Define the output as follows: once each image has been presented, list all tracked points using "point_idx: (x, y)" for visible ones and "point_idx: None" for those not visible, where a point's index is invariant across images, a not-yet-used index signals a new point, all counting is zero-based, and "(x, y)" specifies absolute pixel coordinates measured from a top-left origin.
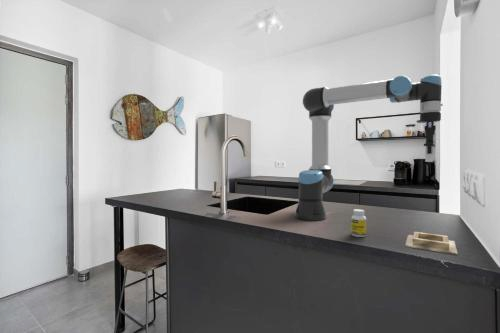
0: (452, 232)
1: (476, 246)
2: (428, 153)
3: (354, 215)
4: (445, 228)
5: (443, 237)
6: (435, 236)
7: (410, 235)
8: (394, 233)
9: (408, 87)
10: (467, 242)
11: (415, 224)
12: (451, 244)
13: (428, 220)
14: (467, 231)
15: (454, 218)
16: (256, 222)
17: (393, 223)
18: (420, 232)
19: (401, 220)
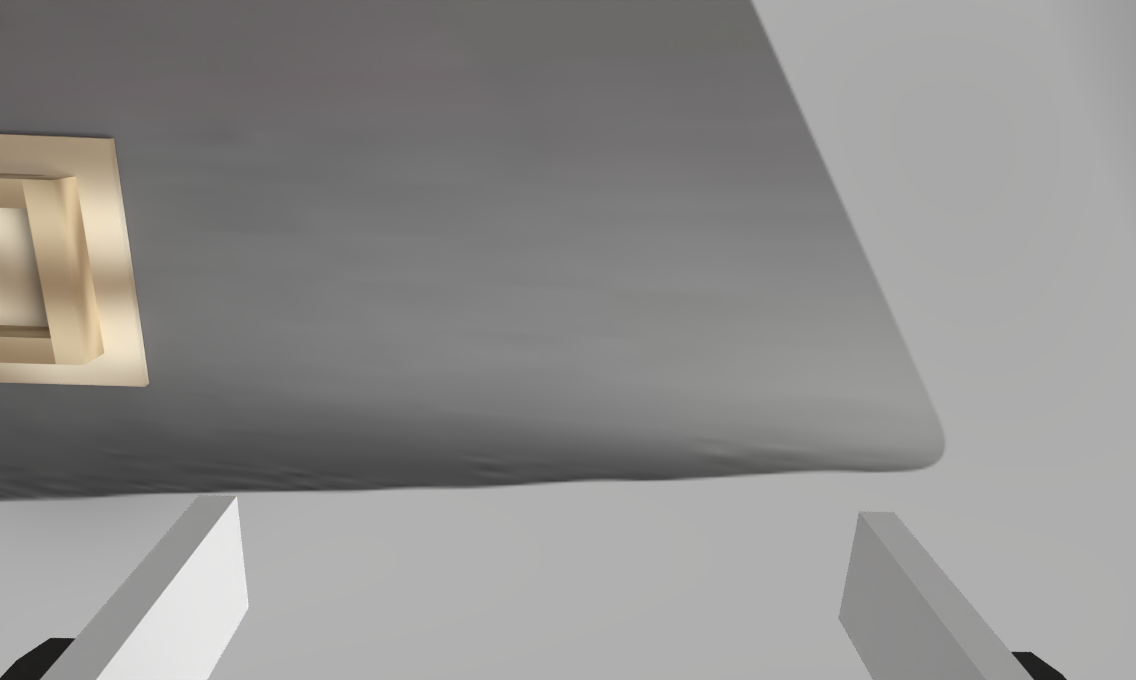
0: (405, 394)
1: (145, 471)
2: (46, 661)
3: None
4: (500, 364)
5: (23, 341)
6: (49, 300)
7: (99, 153)
8: (123, 43)
9: None
10: (202, 442)
11: (520, 181)
12: (53, 366)
13: (723, 273)
14: (486, 471)
15: (885, 441)
16: None
17: (461, 14)
18: (57, 219)
19: (619, 73)
